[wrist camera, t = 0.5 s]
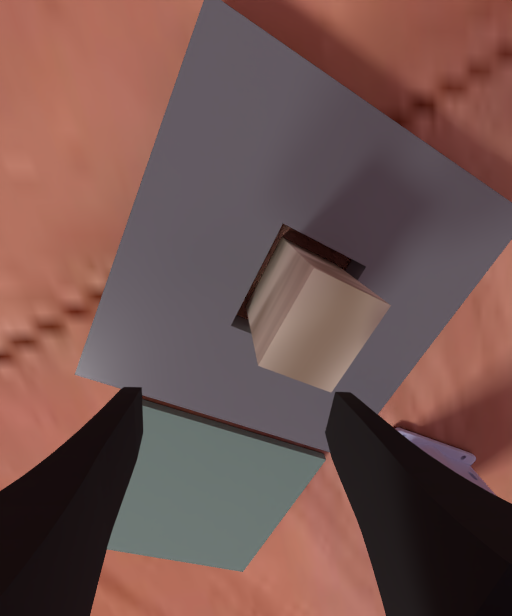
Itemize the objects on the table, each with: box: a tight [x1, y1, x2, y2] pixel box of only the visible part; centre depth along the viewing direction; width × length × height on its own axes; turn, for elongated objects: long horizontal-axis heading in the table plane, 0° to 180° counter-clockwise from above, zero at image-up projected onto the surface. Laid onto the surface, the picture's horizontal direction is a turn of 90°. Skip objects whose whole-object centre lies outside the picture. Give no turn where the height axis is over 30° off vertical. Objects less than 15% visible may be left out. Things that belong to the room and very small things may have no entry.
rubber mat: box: [107, 399, 326, 572], centre depth 26 cm, size 16×16×1 cm
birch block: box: [246, 237, 391, 392], centre depth 17 cm, size 4×5×7 cm
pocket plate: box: [75, 0, 512, 452], centre depth 19 cm, size 20×20×2 cm
